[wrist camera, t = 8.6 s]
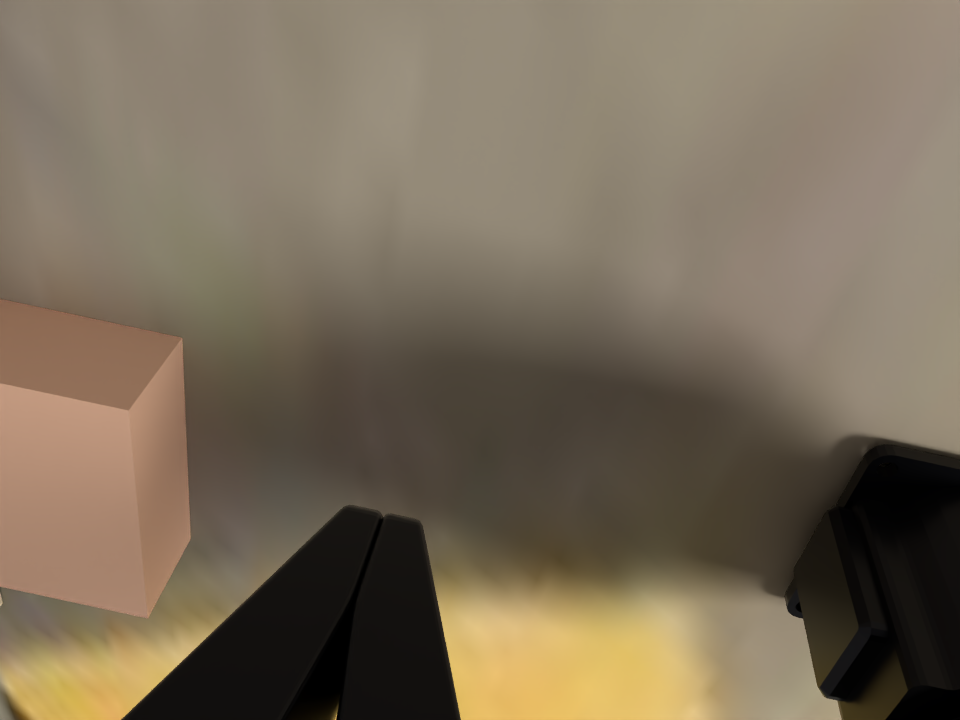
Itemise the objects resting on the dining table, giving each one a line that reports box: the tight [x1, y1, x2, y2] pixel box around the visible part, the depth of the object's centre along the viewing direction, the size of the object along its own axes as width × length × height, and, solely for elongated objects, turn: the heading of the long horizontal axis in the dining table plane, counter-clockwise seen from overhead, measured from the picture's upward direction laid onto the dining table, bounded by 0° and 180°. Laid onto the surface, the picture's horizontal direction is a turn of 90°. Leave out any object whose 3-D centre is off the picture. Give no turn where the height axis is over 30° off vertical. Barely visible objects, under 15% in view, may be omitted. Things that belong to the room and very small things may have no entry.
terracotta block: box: [0, 299, 191, 618], centre depth 25 cm, size 7×8×4 cm
